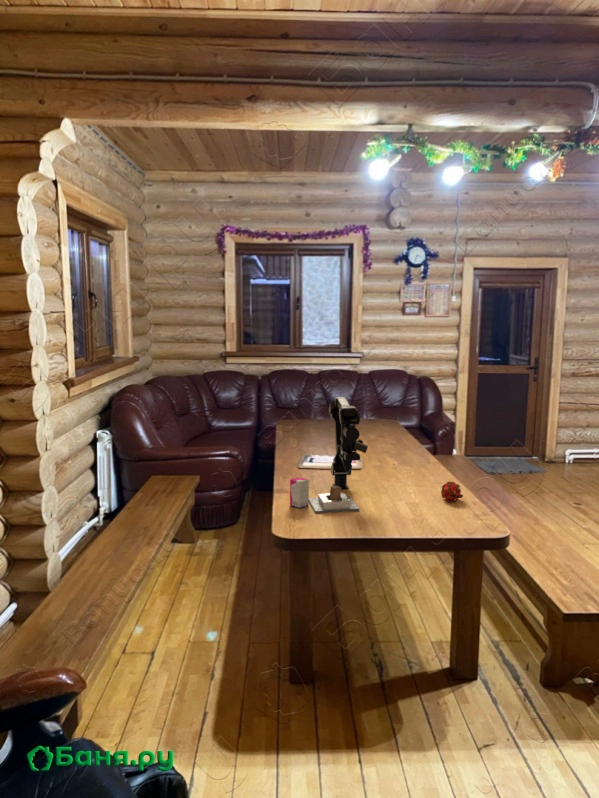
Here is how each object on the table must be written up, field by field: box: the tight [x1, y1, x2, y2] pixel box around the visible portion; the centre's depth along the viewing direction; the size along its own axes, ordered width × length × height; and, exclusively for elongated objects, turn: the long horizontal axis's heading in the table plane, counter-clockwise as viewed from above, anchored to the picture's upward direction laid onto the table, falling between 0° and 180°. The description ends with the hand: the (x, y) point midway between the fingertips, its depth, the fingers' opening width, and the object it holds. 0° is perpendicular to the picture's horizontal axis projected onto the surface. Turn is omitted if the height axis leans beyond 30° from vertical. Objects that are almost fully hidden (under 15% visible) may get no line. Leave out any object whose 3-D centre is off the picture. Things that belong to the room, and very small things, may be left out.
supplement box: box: [289, 476, 310, 509], centre depth 232 cm, size 6×6×12 cm
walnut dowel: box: [329, 485, 342, 500], centre depth 231 cm, size 4×4×7 cm
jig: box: [309, 492, 360, 514], centre depth 232 cm, size 16×18×4 cm
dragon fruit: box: [440, 481, 464, 503], centre depth 240 cm, size 8×8×12 cm
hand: (347, 471), depth 240 cm, fingers closed
